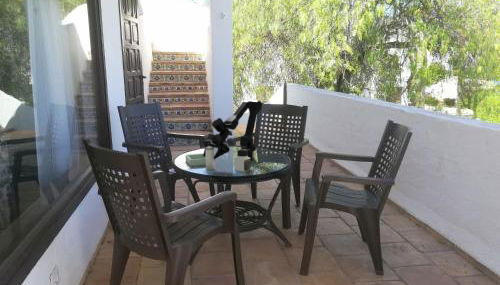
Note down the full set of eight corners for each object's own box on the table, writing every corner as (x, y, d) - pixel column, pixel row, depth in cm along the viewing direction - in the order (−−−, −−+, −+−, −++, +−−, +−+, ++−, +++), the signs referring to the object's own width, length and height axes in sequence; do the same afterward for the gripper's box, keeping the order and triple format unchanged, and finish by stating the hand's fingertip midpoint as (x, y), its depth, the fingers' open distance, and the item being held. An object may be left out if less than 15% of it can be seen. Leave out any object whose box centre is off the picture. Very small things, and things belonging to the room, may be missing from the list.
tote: (185, 161, 250) (185, 154, 249) (204, 160, 254) (204, 153, 254) (190, 167, 237) (190, 159, 236) (210, 165, 241) (210, 158, 240)
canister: (215, 168, 235) (215, 146, 233) (212, 170, 230) (212, 148, 228) (207, 167, 236) (207, 146, 234) (204, 169, 232) (204, 148, 229)
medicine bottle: (244, 172, 227) (244, 151, 225) (234, 170, 231) (234, 150, 228) (250, 169, 233) (250, 149, 231) (240, 167, 237) (240, 148, 234)
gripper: (204, 126, 238) (190, 147, 232) (226, 130, 226) (211, 152, 220) (214, 138, 245) (201, 158, 239) (235, 142, 233) (222, 163, 227)
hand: (208, 157), depth 231 cm, fingers open, 9 cm apart
